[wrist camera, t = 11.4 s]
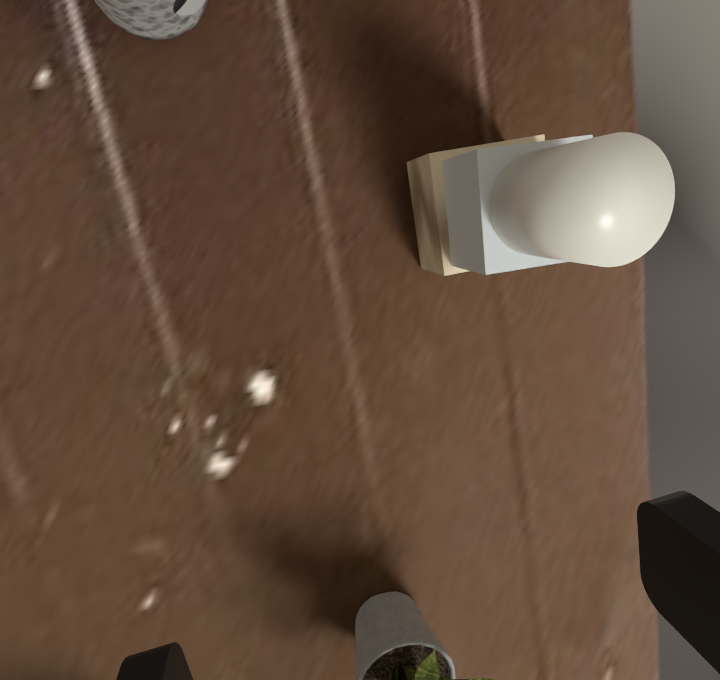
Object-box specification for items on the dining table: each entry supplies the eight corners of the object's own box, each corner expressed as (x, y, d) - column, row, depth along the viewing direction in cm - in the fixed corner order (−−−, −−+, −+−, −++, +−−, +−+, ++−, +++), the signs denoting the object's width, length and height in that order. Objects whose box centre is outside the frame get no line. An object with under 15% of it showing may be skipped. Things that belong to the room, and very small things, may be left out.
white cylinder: (486, 157, 25) (555, 140, 19) (582, 145, 25) (677, 125, 20) (492, 261, 26) (559, 275, 20) (583, 247, 27) (673, 257, 21)
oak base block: (406, 162, 34) (429, 153, 29) (506, 146, 35) (544, 134, 30) (420, 268, 36) (444, 275, 31) (515, 249, 37) (552, 254, 32)
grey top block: (442, 160, 29) (476, 149, 24) (540, 147, 30) (592, 134, 25) (451, 266, 31) (485, 274, 26) (545, 251, 32) (594, 257, 27)
